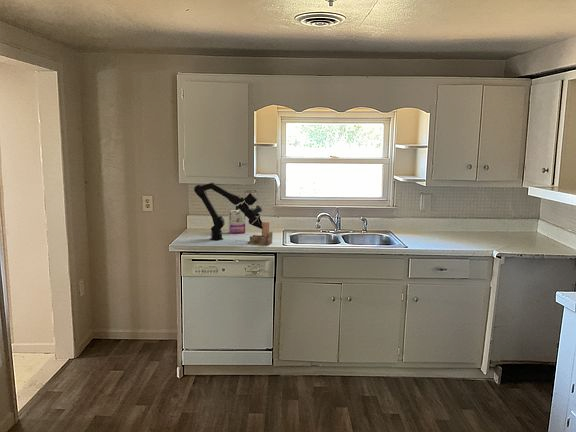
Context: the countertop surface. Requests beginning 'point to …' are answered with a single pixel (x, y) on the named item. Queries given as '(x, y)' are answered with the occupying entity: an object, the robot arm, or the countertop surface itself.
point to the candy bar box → (236, 222)
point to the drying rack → (261, 239)
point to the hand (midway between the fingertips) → (263, 227)
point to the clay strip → (265, 228)
